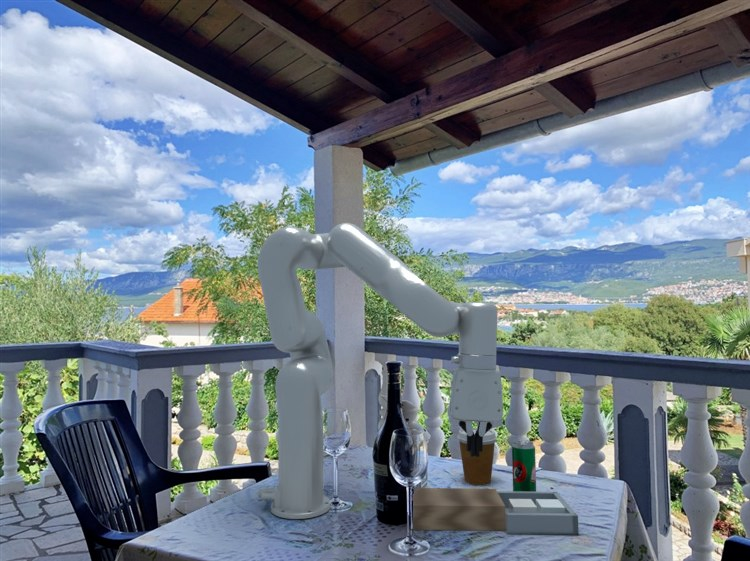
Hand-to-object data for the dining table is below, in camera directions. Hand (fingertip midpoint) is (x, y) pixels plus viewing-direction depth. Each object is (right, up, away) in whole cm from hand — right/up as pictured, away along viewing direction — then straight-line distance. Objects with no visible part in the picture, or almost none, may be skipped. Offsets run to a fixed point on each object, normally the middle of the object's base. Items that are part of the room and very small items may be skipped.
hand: (474, 454), depth 104 cm
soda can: (+14, -14, +12) cm, 23 cm away
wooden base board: (-4, -13, -1) cm, 13 cm away
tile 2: (+15, -9, -2) cm, 17 cm away
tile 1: (+9, -12, -1) cm, 15 cm away
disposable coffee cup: (+5, -15, +23) cm, 27 cm away
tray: (+12, -13, -2) cm, 17 cm away
